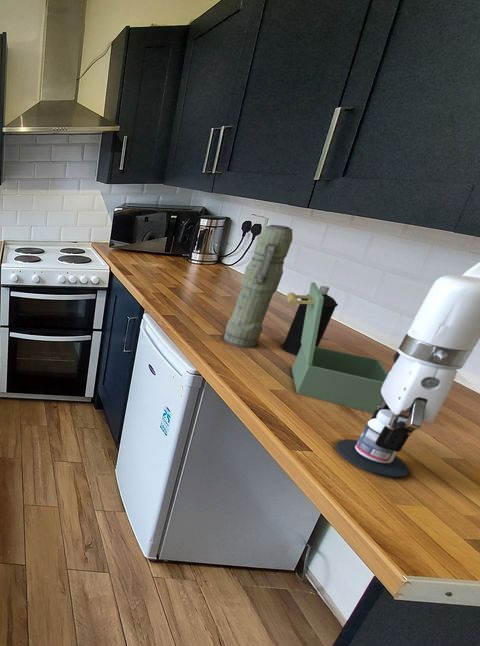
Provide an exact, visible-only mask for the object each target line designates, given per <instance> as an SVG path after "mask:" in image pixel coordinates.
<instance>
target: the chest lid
mask: <svg viewBox="0 0 480 646" xmlns="http://www.w3.org/2000/svg"><path fill="white" fill-rule="evenodd" d="M319 289H320V288H319V287H318V285H317V283H316V282H310V286H309V292H308V294H309V295H308V294H305V295H304V294H295V292H289V293H287V294H286V299H287V303H288V306H290V307H295V306H297V305H299V304H307V309H306V315H305V321H304V327H303V333H302V339H301V344H302V347H303V350H304V354H305V357H306V360H307V364H312V361H313V356H314V350H315V344H316V339H317V333H318V328H319V322H320V317H321V311H322V306H323V300H324V297H323V296H322V294H321V292H320V290H319ZM301 299H308V301H304V300H301Z"/></svg>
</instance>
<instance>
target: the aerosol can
mask: <svg viewBox="0 0 480 646" xmlns="http://www.w3.org/2000/svg"><path fill="white" fill-rule="evenodd" d="M318 289H319V290H320V292H321V294H322V296H323V297H324V300H323V306H322V311H321V317H320V322H319V328H318V333H317V339H316V344H315V346H316V347H319V346H320V343H321V341H322V339H323V337H324V334H325V332H326V330H327V328H328V325H329V323H330V322H331V319H332V317H333V314H334V312H335V309H336V308H337V307H338V306H339V304H338V303H337V301H336V300H335V298H333V296H331V295H329V294H328V292H329V290H330V287H329V286H326V285H320V286H319V288H318ZM307 295H309V293H308V294H307ZM300 300H304V301H308V299H300ZM306 309H307V304H298V307H297V309H296V311H295V315H294V317H293V319H292V322H291V324H290V326H289V330H288V331H287V335H286V337H285V339H284V341H283V344H282V345H281V350H283V351H285V352H287V353H289V354H292V355H294V356H297V355H298V353H299V350H300V348H301V345H302V344H301V339H302V333H303V327H304V321H305V315H306Z"/></svg>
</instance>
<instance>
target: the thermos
mask: <svg viewBox="0 0 480 646" xmlns="http://www.w3.org/2000/svg"><path fill="white" fill-rule="evenodd" d="M293 237H294V235H293V229H292V228H290V226H287V225H279V224H269V225H266V226H265V227H264V228H263V230H262V231H261V233H260V234H259V236H258V239H257V242H256V245H255V248H254V251H253V256H252V257H251V260H250V261H249V262H248V264H247V265H246V267H245V270H244V272H243V273H244V274H243V276H242V279H241V282H240V286H241V288H240V291H239V294H238V297H237V300H236V303H235V306H234V310H233V312H232V315H231V317H230V318H229V319H228V321H227V323H226V327H225V330H224V332H225V334H224V335H223V340H224V341H225V342H226V343H228V344H230V345H233V346H236V347H240V348H248V349H249V348H250V349H251V348H255V347H256V346H257V342H258V340H259V339H260V337H261V334H262V331H263V322H264V321H265V320H264V319H265V317H266V314H267V312H268V309H269V306H270V303H271V301H272V298H273V295H274V294H275V293H276V292H277V291H278V288H279V285H280V282H281V280H282V276H283V274H284V264H285V259H286V258H287V255H288V253H289V250H290V247H291V244H292V242H293Z"/></svg>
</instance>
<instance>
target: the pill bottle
mask: <svg viewBox="0 0 480 646" xmlns="http://www.w3.org/2000/svg"><path fill="white" fill-rule="evenodd" d="M392 414H393V412H392V411H391V410H386V409H382V410H380V411H379V412H378V414H377V416H376V418H375V419H371V418H370V419H369V420H368V421H367V423H366V425H365V427H364V429H363V431H362V432H361V435H360V436H359V438H358V440H357V441H358V442H357V444H356V446H355V448H356V450H357V452H359V453H360V454H361V455H363V456H364V457H366V458H368V459H370V460H373V461H376V462H380V463H391V462H392V461H393V460H394V458H395V456H396V457H397V454H398V453H399V452H396V451H393V450H389V449H386V448H382V447H379V446H377V445H376V444H375V442H376V440H377V438H378V437H379V435H380V433H381V431H382V430H383V428H384V426H387V427H388V424H389V422H390V419H391V417H392ZM406 420H407V419H405V418H401V417H399V419H398V421H397V423H398V422H400V421H403V422H405V421H406Z"/></svg>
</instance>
